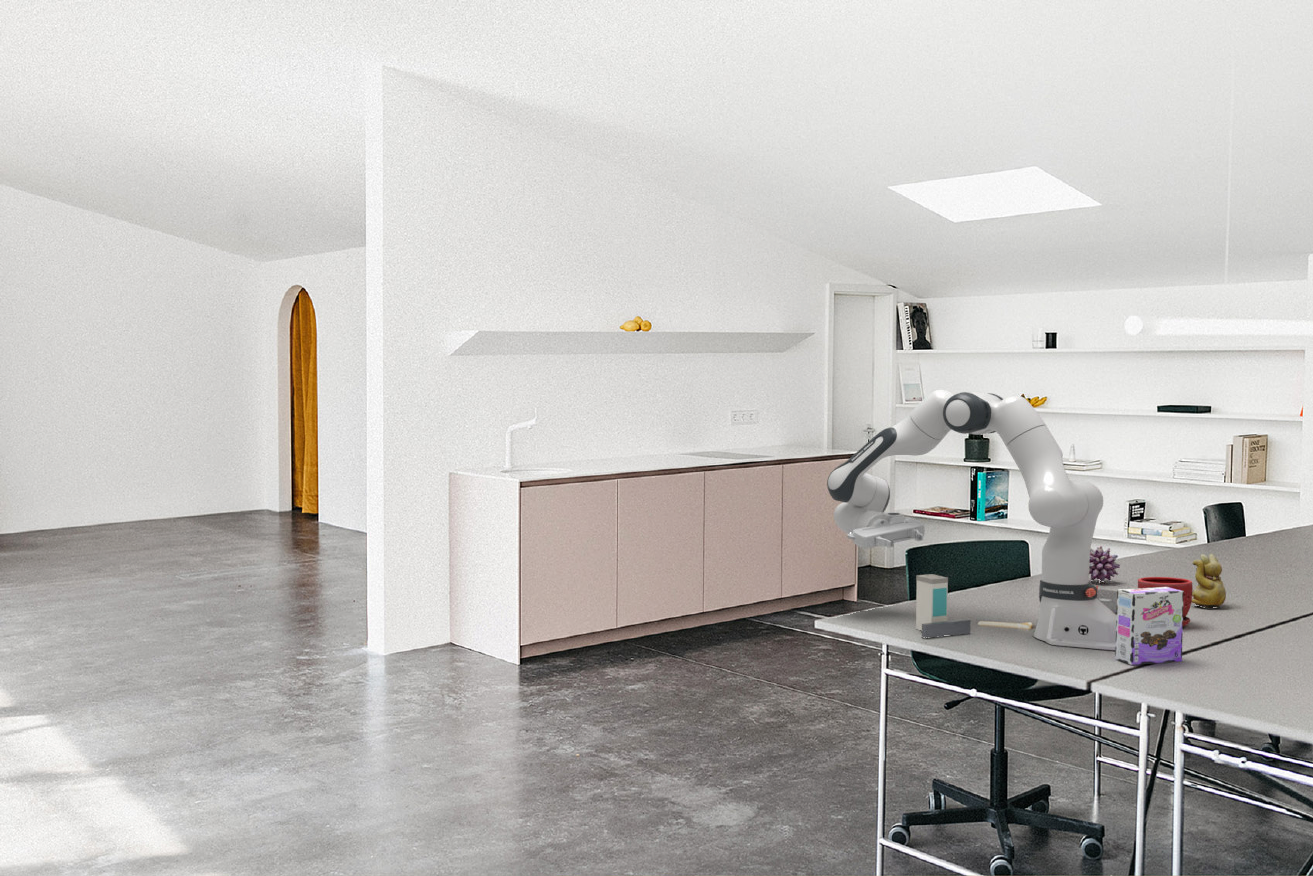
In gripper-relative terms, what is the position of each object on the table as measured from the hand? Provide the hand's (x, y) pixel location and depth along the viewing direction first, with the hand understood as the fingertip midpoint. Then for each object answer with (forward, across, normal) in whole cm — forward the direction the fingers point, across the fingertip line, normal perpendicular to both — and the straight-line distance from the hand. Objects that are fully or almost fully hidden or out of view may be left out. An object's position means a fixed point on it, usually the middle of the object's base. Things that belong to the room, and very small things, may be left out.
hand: (906, 541), depth 299 cm
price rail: (+20, -3, +19) cm, 28 cm away
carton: (+14, -3, +20) cm, 24 cm away
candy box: (+59, +23, +18) cm, 66 cm away
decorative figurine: (+21, +88, +30) cm, 95 cm away
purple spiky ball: (-20, +89, +35) cm, 97 cm away
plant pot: (+32, +58, +25) cm, 71 cm away
